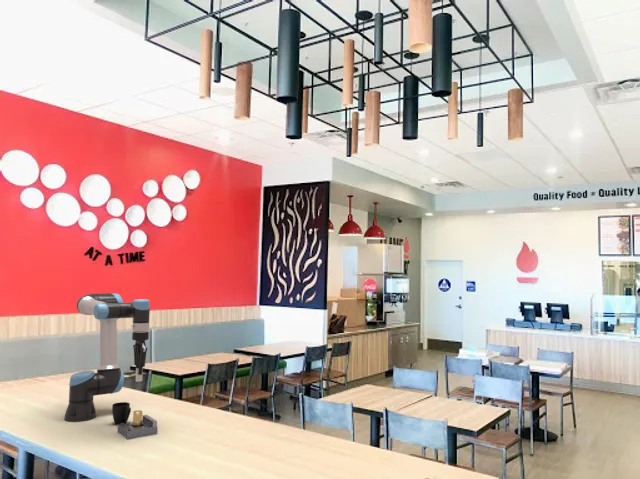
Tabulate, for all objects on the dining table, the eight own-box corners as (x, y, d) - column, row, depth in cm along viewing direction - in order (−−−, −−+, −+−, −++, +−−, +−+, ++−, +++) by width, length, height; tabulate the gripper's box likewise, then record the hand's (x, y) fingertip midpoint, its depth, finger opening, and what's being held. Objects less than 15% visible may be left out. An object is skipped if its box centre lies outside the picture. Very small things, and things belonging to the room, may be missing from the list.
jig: (117, 431, 247) (118, 419, 247) (146, 426, 256) (147, 414, 256) (127, 439, 236) (127, 425, 236) (157, 433, 245) (157, 420, 245)
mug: (120, 428, 253) (121, 408, 254) (108, 423, 261) (109, 404, 262) (136, 424, 259) (136, 405, 260) (123, 420, 267) (124, 401, 268)
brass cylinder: (131, 432, 246) (132, 411, 247) (139, 431, 249) (140, 409, 249) (134, 434, 243) (135, 413, 244) (142, 433, 246) (143, 411, 246)
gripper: (128, 330, 252) (126, 379, 250) (137, 333, 242) (135, 384, 240) (143, 329, 257) (141, 378, 255) (153, 332, 246) (151, 382, 245)
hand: (138, 381), depth 248 cm, fingers closed
